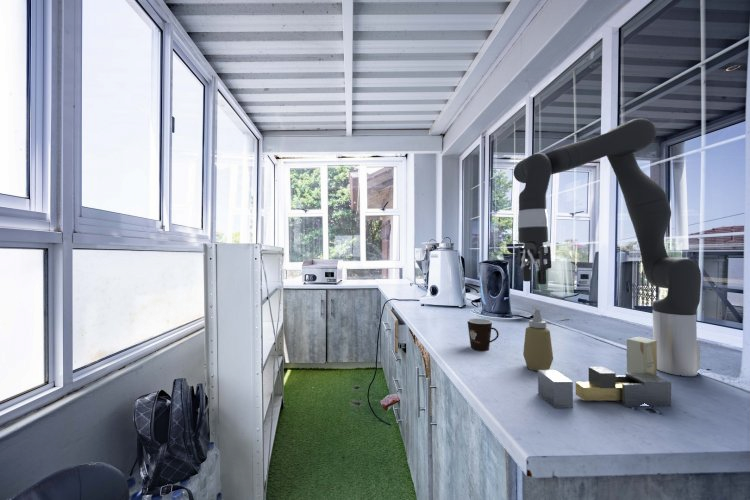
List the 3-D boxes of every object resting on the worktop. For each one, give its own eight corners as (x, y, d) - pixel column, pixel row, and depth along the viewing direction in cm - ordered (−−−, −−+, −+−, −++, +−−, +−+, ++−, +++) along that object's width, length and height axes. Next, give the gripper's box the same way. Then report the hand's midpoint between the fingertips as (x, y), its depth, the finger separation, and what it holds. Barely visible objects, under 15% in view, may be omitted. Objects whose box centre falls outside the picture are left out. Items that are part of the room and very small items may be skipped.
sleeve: (650, 395, 75) (650, 372, 75) (671, 406, 70) (671, 382, 70) (607, 395, 75) (607, 372, 75) (625, 406, 70) (624, 382, 70)
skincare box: (646, 391, 77) (646, 343, 77) (626, 385, 81) (625, 338, 81) (658, 386, 80) (657, 339, 80) (637, 380, 84) (637, 335, 84)
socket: (555, 393, 76) (554, 369, 76) (573, 408, 69) (572, 381, 69) (538, 393, 76) (537, 369, 76) (554, 408, 69) (554, 381, 69)
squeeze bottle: (557, 374, 88) (557, 312, 88) (527, 372, 89) (526, 311, 90) (547, 364, 96) (547, 307, 96) (520, 362, 97) (519, 306, 97)
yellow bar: (648, 393, 74) (648, 366, 74) (664, 401, 70) (663, 373, 70) (574, 393, 75) (574, 366, 75) (585, 401, 71) (585, 373, 71)
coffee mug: (464, 345, 116) (463, 318, 116) (485, 344, 117) (485, 318, 117) (476, 355, 105) (476, 326, 105) (501, 354, 105) (500, 325, 105)
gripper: (560, 223, 80) (561, 285, 80) (533, 227, 95) (534, 280, 94) (531, 224, 81) (532, 285, 80) (509, 228, 95) (510, 280, 95)
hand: (533, 282), depth 87 cm, fingers open, 8 cm apart
